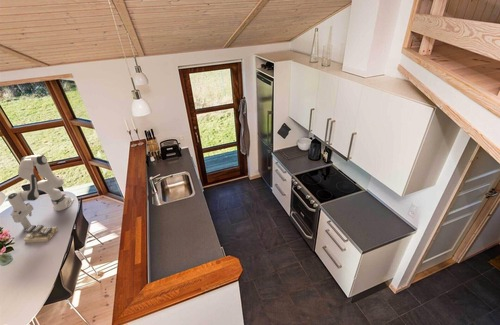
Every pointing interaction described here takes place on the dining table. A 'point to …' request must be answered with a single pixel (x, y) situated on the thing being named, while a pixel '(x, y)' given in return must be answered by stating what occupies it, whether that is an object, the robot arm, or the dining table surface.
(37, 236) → the panel
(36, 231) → the knob
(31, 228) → the knob
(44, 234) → the knob
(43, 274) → the dining table surface
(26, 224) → the travel mug
